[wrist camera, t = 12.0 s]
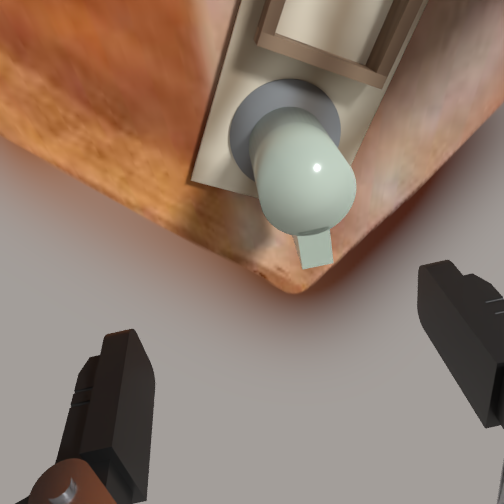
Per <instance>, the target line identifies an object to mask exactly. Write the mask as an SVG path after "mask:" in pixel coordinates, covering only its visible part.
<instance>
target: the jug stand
mask: <svg viewBox="0 0 504 504" xmlns="http://www.w3.org/2000/svg"><path fill="white" fill-rule="evenodd" d="M427 3H428V0H241V1H240V5H239V9H238V12H237V16H236V19H235V23H234V26H233V30H232V33H231V37H230V41H229V44H228V48H227V51H226V55H225V58H224V62H223V66H222V69H221V73H220V76H219V80H218V83H217V87H216V90H215V94H214V98H213V101H212V105H211V108H210V112H209V115H208V119H207V122H206V126H205V130H204V133H203V137H202V140H201V144H200V147H199V151H198V154H197V158H196V162H195V165H194V169H193V172H192V176H191V181H195V182H198V183H202V184H206V185H210V186H213V187H217V188H221V189H225V190H228V191H232V192H236V193H240V194H244V195H247V196H251V197H255V198H259V195H258V191H257V186H256V182H255V178H254V173H253V169H252V164H251V160H250V155H249V138H250V135H251V132H252V130H253V128H254V126H255V125H256V124H257V122H258V121H259V120H260V119H261V118H262V117H263V116H264V115H266V114H267V113H269V112H270V111H273V110H275V109H278V108H281V107H298V108H302V109H304V110H307V111H308V112H310V113H311V114H313V115H314V116H315V117H316V118H317V119H318V121H319V122H320V123H321V125H322V126H323V128H324V129H325V131H326V132H327V134H328V135H329V136H330V138H331V139H332V141H333V142H334V144H335V145H336V147H337V148H338V149H339V151H340V152H341V154H342V155H343V157H344V158H345V159H346V161H347V162H348V164H349V165H350V166H351V164H352V162H353V160H354V158H355V155H356V153H357V151H358V149H359V147H360V145H361V143H362V141H363V138H364V136H365V134H366V132H367V130H368V128H369V126H370V124H371V121H372V119H373V117H374V115H375V113H376V111H377V109H378V107H379V104H380V102H381V100H382V98H383V96H384V94H385V92H386V90H387V87H388V85H389V83H390V81H391V79H392V77H393V75H394V73H395V70H396V68H397V66H398V64H399V62H400V60H401V58H402V56H403V54H404V51H405V49H406V47H407V45H408V43H409V41H410V39H411V37H412V34H413V32H414V30H415V28H416V26H417V24H418V22H419V20H420V17H421V15H422V13H423V11H424V9H425V7H426V5H427Z"/></svg>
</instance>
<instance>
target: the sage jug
mask: <svg viewBox="0 0 504 504" xmlns="http://www.w3.org/2000/svg"><path fill="white" fill-rule="evenodd" d="M249 155H250V160H251V164H252V169H253V173H254V178H255V182H256V186H257V191H258V195H259V200H260V204H261V208H262V211H263V213H264V215H265V217H266V218H267V220H268V221H269V222H270V223H271V224H272V225H273V226H274V227H275V228H277V229H278V230H280V231H282V232H284V233H287V234H290V235H292V237H293V240H294V243H295V247H296V250H297V253H298V256H299V259H300V263H301V266H302V269H307V268H312V267H317V266H322V265H326V264H331V263H333V255H332V246H331V237H330V228H332V227H334V226H335V225H336V224H338V223H339V222H340V221H341V220H342V219H343V218H344V217H345V216H346V214H347V213H348V212H349V210H350V208H351V206H352V204H353V202H354V199H355V194H356V179H355V176H354V173H353V170H352V168H351V167H350V165H349V164H348V162H347V161H346V159H345V158H344V157H343V155H342V154H341V152H340V151H339V149H338V148H337V147H336V145H335V144H334V142H333V141H332V139H331V138H330V136H329V135H328V134H327V132H326V131H325V129H324V128H323V126H322V125H321V123H320V122H319V121H318V119H317V118H316V117H315V116H314V115H313V114H311V113H310V112H308V111H307V110H304V109H302V108H298V107H281V108H278V109H275V110H273V111H270V112H269V113H267V114H266V115H264V116H263V117H262V118H261V119H260V120H259V121H258V122H257V124H256V125H255V126H254V128H253V130H252V132H251V135H250V138H249Z"/></svg>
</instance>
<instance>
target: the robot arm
mask: <svg viewBox="0 0 504 504" xmlns="http://www.w3.org/2000/svg"><path fill="white" fill-rule="evenodd" d="M417 309H418V315H419V319H420V322H421V324H422V326H423V328H424V330H425V332H426V333H427V335H428V337H429V338H430V340H431V341H432V343H433V345H434V346H435V348H436V349H437V351H438V353H439V354H440V356H441V357H442V359H443V361H444V363H445V364H446V366H447V367H448V369H449V371H450V372H451V374H452V375H453V377H454V379H455V380H456V382H457V384H458V385H459V387H460V388H461V390H462V392H463V393H464V395H465V396H466V398H467V400H468V401H469V403H470V404H471V406H472V408H473V409H474V411H475V413H476V414H477V416H478V417H479V419H480V421H481V422H482V424H483V426H484V427H485V428H489V427H494V426H499V425H501V426H502V427H503V429H504V299H503V297H502V296H501V294H499V292H498V291H497V290H496V289H495V288H494V287H493V286H492V284H490V283H489V282H487V281H485V280H483V279H481V278H480V277H478V276H476V275H474V274H468V275H464V276H463V275H462V274H461V273H460V271H459V270H458V269H457V268H456V266H455V265H454V264H453V263H452V262H451V261H449V260H445V261H440V262H435V263H430V264H426V265H421V266H420V267H419V271H418V301H417ZM74 391H75V394H73V398H72V402H71V408H70V409H69V413H68V417H67V421H66V425H65V429H64V433H63V436H62V440H61V444H60V448H59V452H58V456H57V460H56V463H55V465H53V466H52V467H50V468H49V469H48V470H46V471H45V472H44V473H43V474H42V476H41V477H40V478H39V479H38V480H37V482H36V483H35V485H34V486H33V488H32V491H31V493H30V495H29V496H28V497H26V498H25V499H23V500H21V501H19V502H17V503H16V504H133V503H138V502H143V501H146V500H147V487H148V473H149V460H150V448H151V447H150V446H151V434H152V421H153V408H154V395H155V377H154V372H153V368H152V365H151V363H150V360H149V358H148V356H147V354H146V352H145V350H144V348H143V345H142V343H141V341H140V339H139V337H138V335H137V333H136V331H135V330H134V329H129V330H124V331H120V332H115V333H111V334H107V335H106V336H105V337H104V340H103V345H102V349H101V354H100V355H98V356H94V357H90V358H89V359H88V361H87V362H86V364H85V365H84V367H83V368H82V370H81V371H80V373H79V375H78V378H77V383H76V386H75V390H74ZM497 504H504V462H503V467H502V473H501V480H500V486H499V493H498V499H497Z"/></svg>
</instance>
